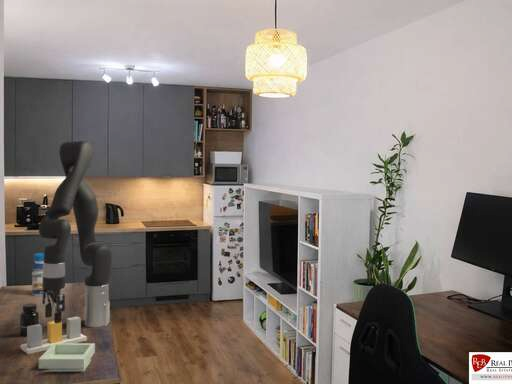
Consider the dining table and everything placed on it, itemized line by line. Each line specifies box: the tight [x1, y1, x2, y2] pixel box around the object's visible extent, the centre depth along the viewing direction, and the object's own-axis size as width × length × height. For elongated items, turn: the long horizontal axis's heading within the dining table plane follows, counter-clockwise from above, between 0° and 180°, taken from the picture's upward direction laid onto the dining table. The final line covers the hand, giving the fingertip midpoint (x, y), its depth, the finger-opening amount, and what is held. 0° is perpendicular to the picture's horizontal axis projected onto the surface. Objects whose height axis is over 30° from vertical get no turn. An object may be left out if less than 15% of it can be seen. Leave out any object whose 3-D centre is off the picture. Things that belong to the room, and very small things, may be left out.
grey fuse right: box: [66, 316, 82, 339], centre depth 185 cm, size 4×3×8 cm
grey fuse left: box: [26, 323, 43, 348], centre depth 175 cm, size 4×3×8 cm
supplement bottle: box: [19, 302, 40, 338], centre depth 190 cm, size 7×7×12 cm
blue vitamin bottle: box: [31, 252, 44, 297], centre depth 250 cm, size 8×8×20 cm
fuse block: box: [20, 333, 88, 355], centre depth 180 cm, size 21×7×2 cm, turn 134°
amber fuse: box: [46, 320, 63, 344], centre depth 180 cm, size 4×3×8 cm
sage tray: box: [38, 342, 96, 373], centre depth 166 cm, size 14×14×4 cm
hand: (53, 319), depth 180 cm, fingers open, 8 cm apart
